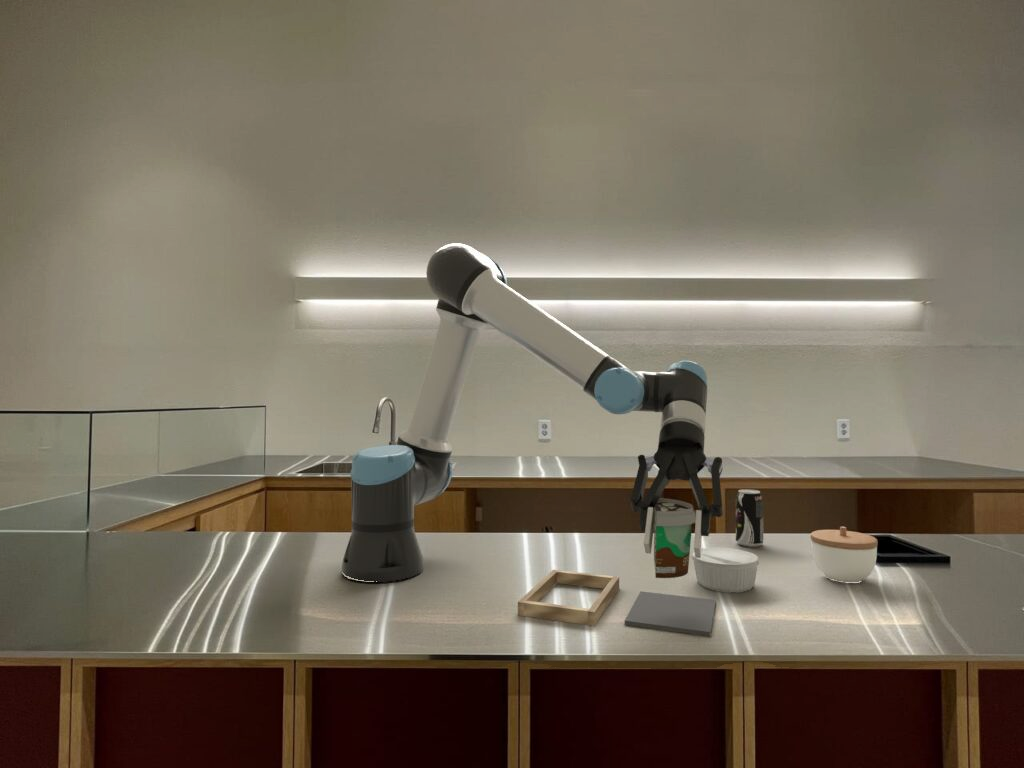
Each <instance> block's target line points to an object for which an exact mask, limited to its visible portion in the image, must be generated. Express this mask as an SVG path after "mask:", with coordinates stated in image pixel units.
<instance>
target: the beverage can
mask: <svg viewBox="0 0 1024 768" xmlns="http://www.w3.org/2000/svg"><path fill="white" fill-rule="evenodd" d="M737 492H738V493H737V494H736V496H735V542H736V543H738V544H739V545H740V546H742V545H743V547H746V546H747V547H748V548H757V547H758V548H759V547H760V546H761V545H764V498H763V496H762V495H761V491H760V490H757V489H744V488H743V489H739V490H738V491H737ZM747 547H746V548H747Z"/></svg>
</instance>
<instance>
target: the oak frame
mask: <svg viewBox="0 0 1024 768" xmlns="http://www.w3.org/2000/svg"><path fill="white" fill-rule="evenodd" d="M557 584H561V585H563V584H564V585H569V584H570V585H571V586H578V587H579V586H580V587H589V588H594V589H595V588H597V589H602V591H601V593H600V594H599V595H598V597H597V598H596V599H595V601H594V602H593V604H592V605H591V606H590V607H589V608H585V607H578V606H571V605H563V604H554V603H548V602H540V601H541V599H543V597H545V595H546V594H548V592H550V590H551V589H553V587H555V585H557ZM619 590H620V576H614V575H603V574H597V573H596V574H594V573H587V572H577V571H569V570H567V571H566V570H559V569H552V570H551V571H550V572H548V574H546V576H544V577H543V578H542V579H541V580H539V581H538V583H536V585H534V587H533V588H531V589H530V590H529V591H528V592H527V593H526V594H524V596H523V597H522V598H520V599H519V600H518V601H517V616H521V617H528V618H538V619H545V620H550V621H556V622H557V621H558V622H559V621H560V622H564V623H565V622H566V623H571V624H578V625H579V624H580V625H584V626H585V625H586V626H593V627H594V626H596V624H597V623H598V621H599V620H600V618H601V617H602V615H603V614H604V613H605V611H606V609H607V608H608V606H609V605H610V603H611V601H612V600H613V599H614V597H615V595H616V594H617V593H618V591H619Z"/></svg>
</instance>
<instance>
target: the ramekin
mask: <svg viewBox="0 0 1024 768" xmlns="http://www.w3.org/2000/svg"><path fill="white" fill-rule="evenodd" d="M691 560H692V561H693V566H694V572H695V576H696V580H697V582H698V584H699V585H700V586H701V587H704V588H705V589H708V590H712V591H716V592H720V591H721V593H731V592H736V593H744V592H743V591H745V592H747V590H748V591H750V590H751V589H752V588H753V587H754V586H755V583H756V578H757V572H758V566H759V564H760V559H759V557H758V556H757V555H756V554H755V553H752V552H750V551H746V550H742V549H736V548H731V547H705V548H704V547H703V548H701V558H695V551H694V550H693V552H692V553H691Z"/></svg>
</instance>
